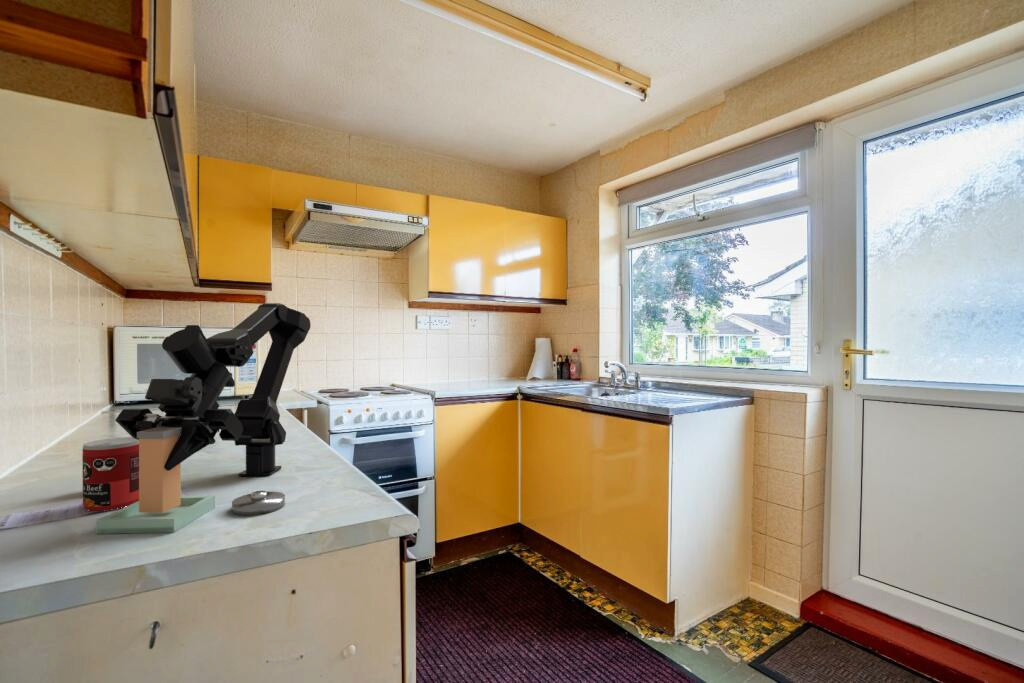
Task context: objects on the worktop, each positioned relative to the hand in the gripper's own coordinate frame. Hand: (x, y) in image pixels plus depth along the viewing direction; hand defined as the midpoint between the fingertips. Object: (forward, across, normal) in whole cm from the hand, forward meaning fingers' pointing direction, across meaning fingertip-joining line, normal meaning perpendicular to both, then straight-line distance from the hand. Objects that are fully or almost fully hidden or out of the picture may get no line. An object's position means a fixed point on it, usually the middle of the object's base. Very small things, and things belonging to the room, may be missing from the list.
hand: (153, 469), depth 76 cm
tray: (+5, 0, +7) cm, 8 cm away
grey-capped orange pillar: (+4, 0, +6) cm, 7 cm away
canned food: (0, -14, +12) cm, 18 cm away
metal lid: (0, +12, +11) cm, 17 cm away
